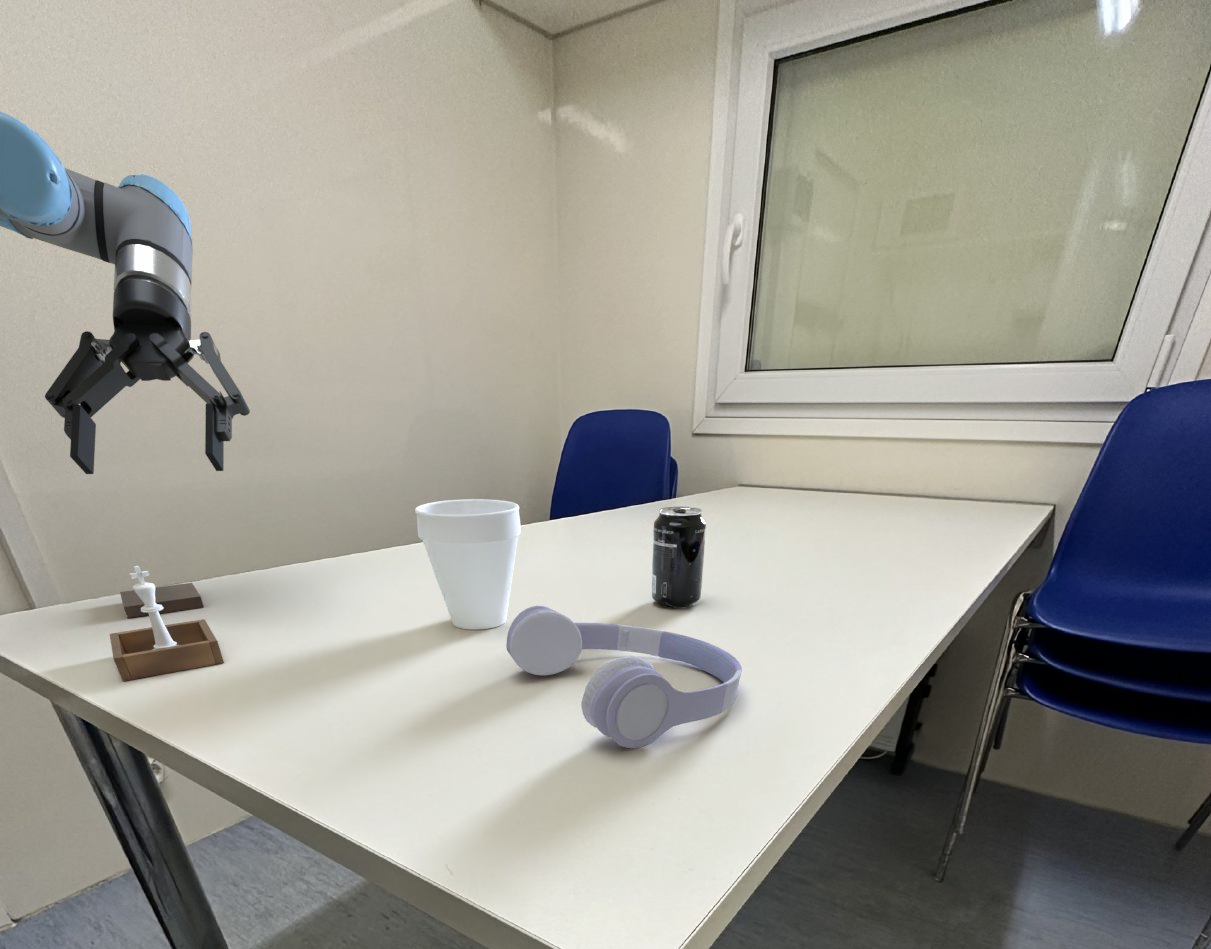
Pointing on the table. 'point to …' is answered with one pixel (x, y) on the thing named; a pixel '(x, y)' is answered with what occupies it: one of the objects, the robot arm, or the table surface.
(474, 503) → the cup
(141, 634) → the oak box
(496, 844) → the table surface
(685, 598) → the beverage can
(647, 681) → the headphones
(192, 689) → the table surface
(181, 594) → the walnut stand
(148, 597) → the chess piece
